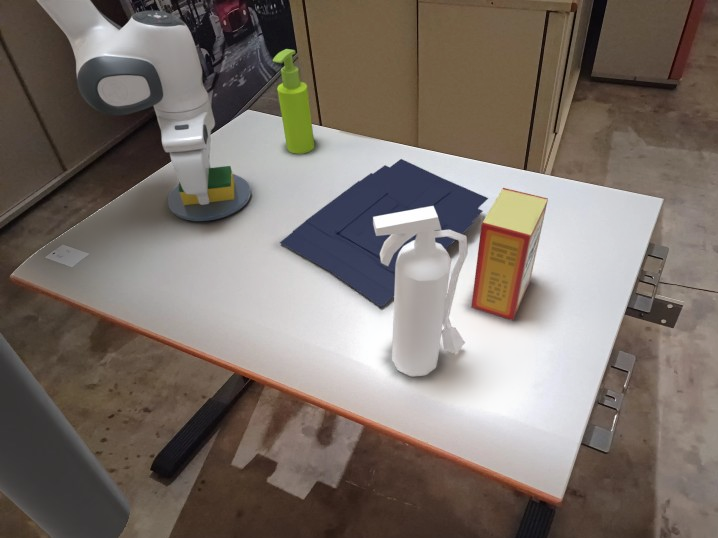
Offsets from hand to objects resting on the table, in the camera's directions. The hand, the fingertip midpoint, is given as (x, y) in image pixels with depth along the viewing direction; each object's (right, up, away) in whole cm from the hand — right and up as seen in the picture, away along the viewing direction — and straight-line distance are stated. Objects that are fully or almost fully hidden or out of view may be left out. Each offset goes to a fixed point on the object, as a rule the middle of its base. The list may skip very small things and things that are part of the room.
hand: (206, 188), depth 102 cm
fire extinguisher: (+39, -29, -25) cm, 55 cm away
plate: (0, -2, +2) cm, 3 cm away
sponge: (0, -1, +1) cm, 1 cm away
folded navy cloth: (+34, -9, -5) cm, 36 cm away
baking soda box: (+52, -20, -16) cm, 58 cm away
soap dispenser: (+15, +12, +16) cm, 25 cm away
